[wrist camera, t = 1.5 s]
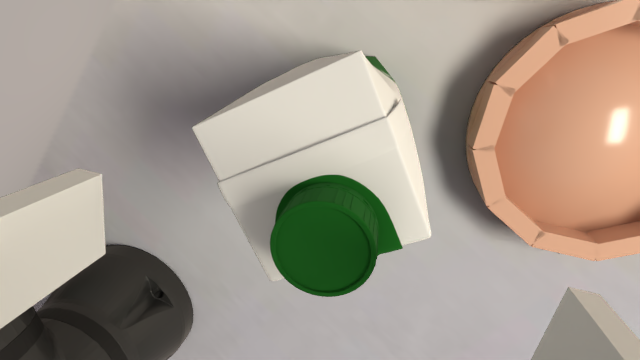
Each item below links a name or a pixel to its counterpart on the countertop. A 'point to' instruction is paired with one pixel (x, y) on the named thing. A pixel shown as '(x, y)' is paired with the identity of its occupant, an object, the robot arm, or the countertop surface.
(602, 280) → the countertop surface
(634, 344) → the robot arm
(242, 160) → the soya milk
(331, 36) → the countertop surface
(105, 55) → the countertop surface
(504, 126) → the tray
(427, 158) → the countertop surface
